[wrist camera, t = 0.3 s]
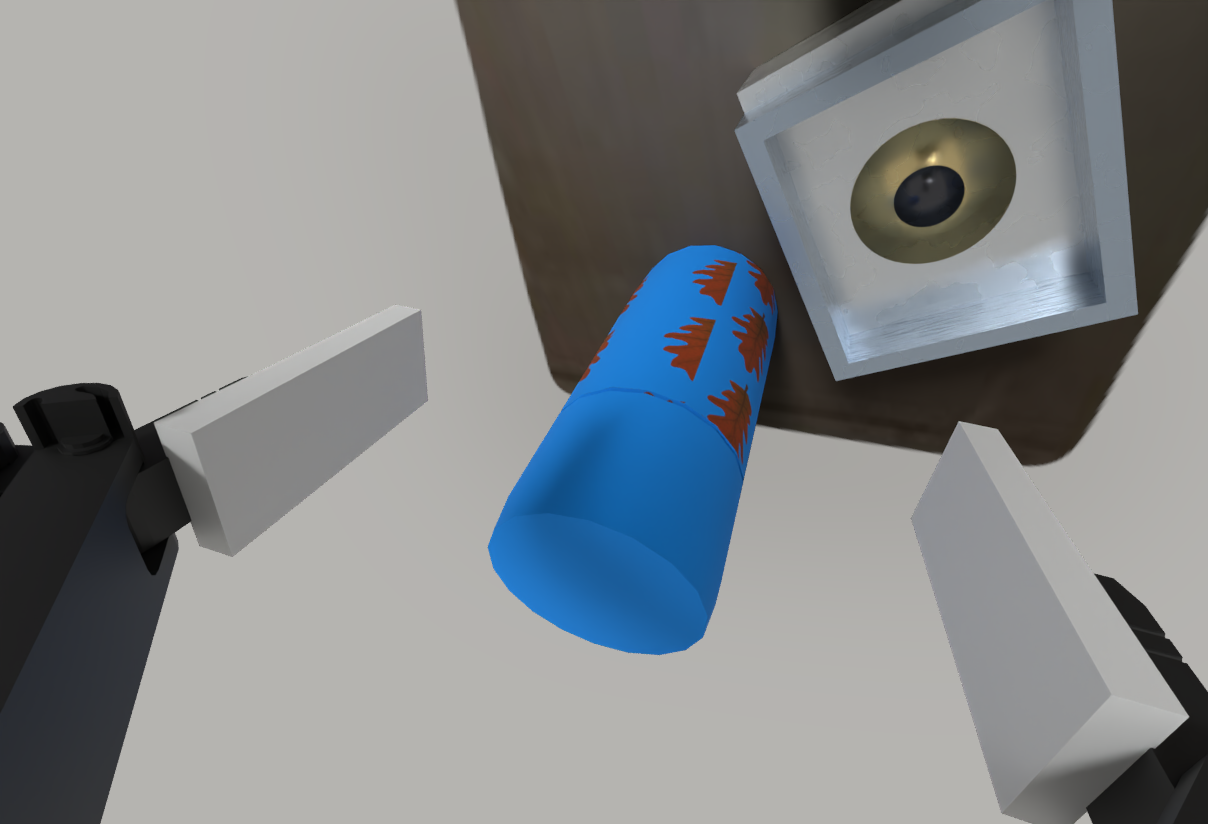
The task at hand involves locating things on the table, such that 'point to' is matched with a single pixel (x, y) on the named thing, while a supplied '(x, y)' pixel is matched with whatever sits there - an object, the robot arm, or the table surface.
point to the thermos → (646, 462)
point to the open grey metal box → (946, 176)
